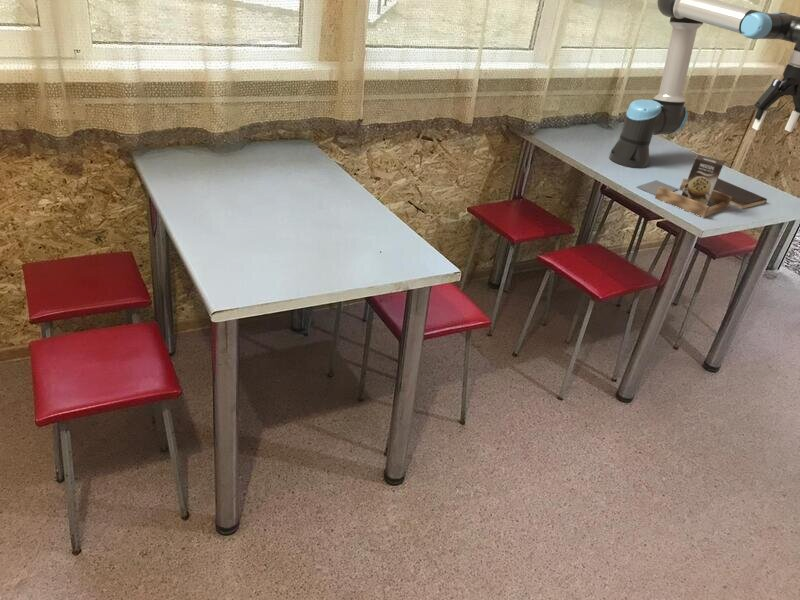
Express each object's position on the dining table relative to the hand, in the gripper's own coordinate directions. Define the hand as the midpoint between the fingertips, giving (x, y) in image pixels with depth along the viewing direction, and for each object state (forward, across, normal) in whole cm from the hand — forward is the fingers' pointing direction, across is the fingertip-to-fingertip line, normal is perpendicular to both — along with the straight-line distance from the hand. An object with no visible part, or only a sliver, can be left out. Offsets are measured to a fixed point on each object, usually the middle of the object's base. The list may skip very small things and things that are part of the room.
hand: (771, 130), depth 222 cm
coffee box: (+27, -22, -2) cm, 35 cm away
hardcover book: (+27, -2, +7) cm, 28 cm away
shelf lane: (+26, -22, -2) cm, 35 cm away
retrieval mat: (+27, -29, +10) cm, 40 cm away
